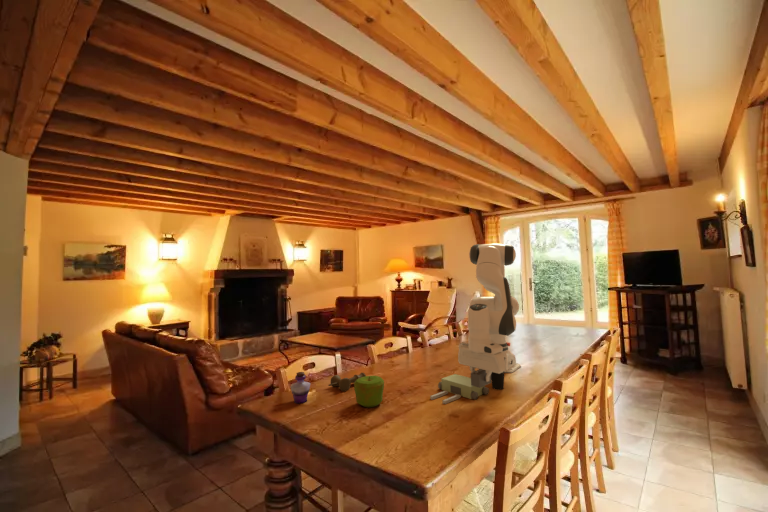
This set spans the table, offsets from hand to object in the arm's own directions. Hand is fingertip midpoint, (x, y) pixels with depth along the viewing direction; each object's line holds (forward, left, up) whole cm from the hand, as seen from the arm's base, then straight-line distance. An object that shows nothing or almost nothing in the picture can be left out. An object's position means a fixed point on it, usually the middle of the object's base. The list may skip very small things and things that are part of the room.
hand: (480, 379), depth 139 cm
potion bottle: (+52, -53, -10) cm, 75 cm away
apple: (+33, -30, -10) cm, 46 cm away
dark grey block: (0, 0, -2) cm, 2 cm away
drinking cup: (-21, -5, -10) cm, 23 cm away
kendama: (+28, -55, -10) cm, 63 cm away
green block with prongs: (0, -13, -9) cm, 16 cm away
